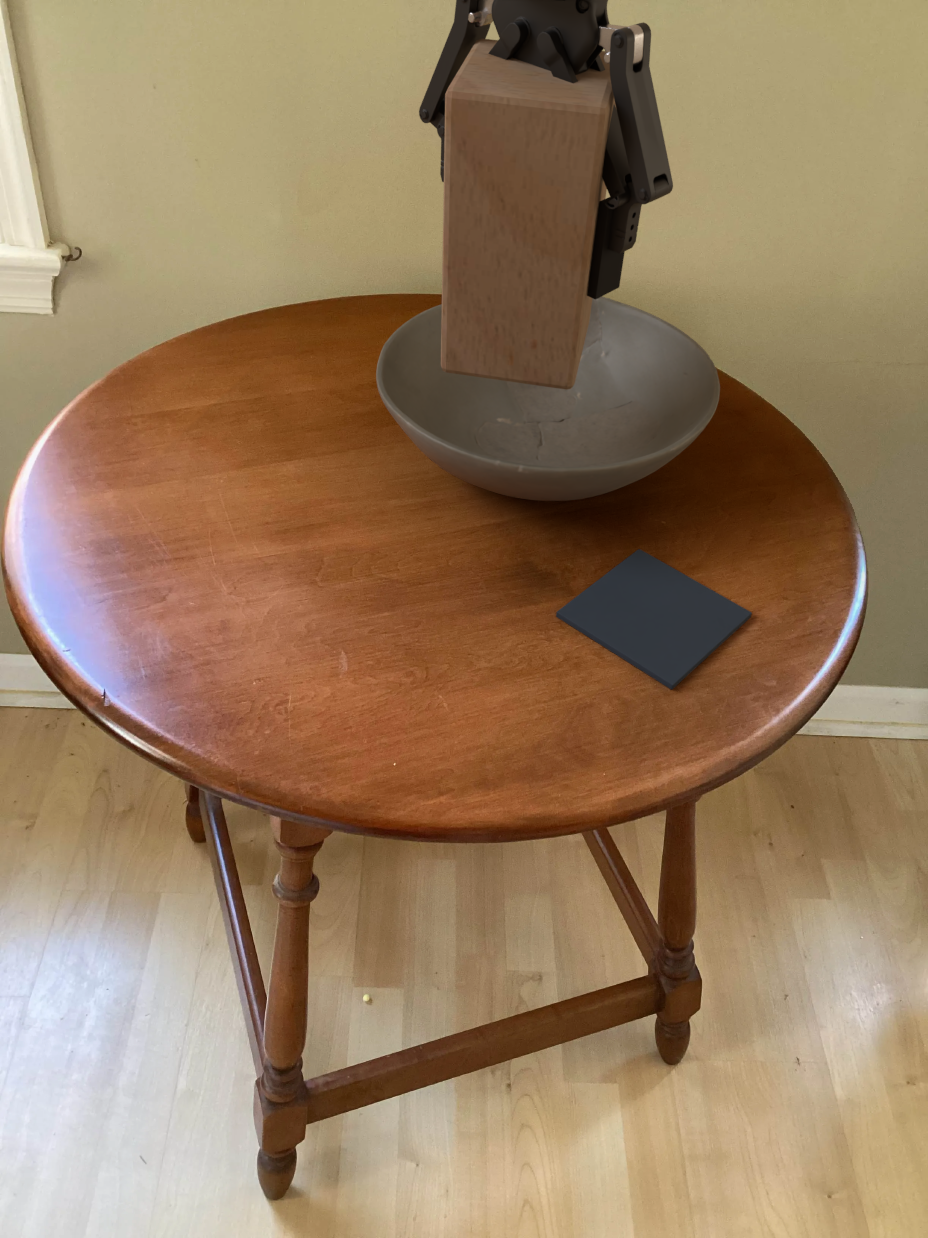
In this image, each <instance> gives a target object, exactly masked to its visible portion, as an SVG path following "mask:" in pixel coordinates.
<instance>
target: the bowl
mask: <svg viewBox="0 0 928 1238" xmlns="http://www.w3.org/2000/svg"><path fill="white" fill-rule="evenodd" d="M441 320H442V303H441V304H439V305H435V306H433V307H431V308H428V309H426V310H423V311H422V312H420V313H418V314H416V315H415V316H413V317H411V318H410V319H409V320H407V321H405V322H404V323H403V324H402V325H400V326H399V327H398V328H397V329H396V330H394V332H393V333H392V334H391V335H390V336H389V338H388V339H387V340H386V341H385V343H384V344H383V346H382V348H381V351H380V354H379V356H378V360H377V364H376V372H375V381H376V387H377V392H378V394H379V396H380V399H381V401H382V402H383V403H382V404H383V405H384V407H385V408H386V409H387V411H388V412H389V414H390V415H391V417H392V418H393V420H394V421H395V422H396V423H397V424H398V426H399V427H400V428H401V430H402V431H403V432H404V433H405V435H406V436H407V437H408V438H409V439H410V441H411V442H412V443H413V444H414V445H415V446H416V448H418V450H419V451H420V452H422V453H423V455H425V456H426V457H427V458H428V459H429V460H431V461H432V462H433V463H434V464H435V465H437V466H438V467H439V468H440V469H442V470H443V471H444V472H447V473H448V474H450V475H452V476H454V477H455V478H457V479H459V480H462V481H463V482H466V483H468V484H470V485H473V486H475V487H478V488H480V489H483V490H485V491H489V492H492V493H496V494H498V495H502V496H505V497H506V496H507V497H511V498H515V499H521V500H527V501H530V500H531V501H539V502H541V501H542V502H565V501H567V502H569V501H575V500H576V501H577V500H584V499H589V498H593V497H597V496H600V495H601V496H602V495H604V494H609V493H610V492H614V491H616V490H619V489H621V488H624V487H626V486H628V485H631V484H633V483H636V482H638V481H640V480H642V479H644V478H646V477H648V476H650V475H652V474H653V473H655V472H657V471H658V470H659V469H661V468H662V467H664V466H665V465H667V464H668V463H670V462H671V461H672V460H674V459H675V458H676V457H678V456H679V455H680V454H681V453H683V451H685V449H687V448H688V447H689V446H691V444H692V443H693V442H694V441H695V440H696V439H697V438H698V437H699V436H700V435H701V433H703V431H704V430H705V429H706V427H707V426H708V425H709V423H710V421H711V420H712V418H713V416H714V415H715V413H716V410H717V408H718V404H719V401H720V394H721V393H720V392H721V384H720V378H719V374H718V370H717V368H716V366H715V363H714V361H713V360H712V358H711V357H710V355H709V354H708V352H707V351H706V350H705V349H704V348H703V347H702V346H701V345H700V344H699V343H698V342H697V341H696V340H695V339H694V338H692V337H691V336H690V335H688V334H687V333H686V332H685V331H683V330H682V329H680V328H678V327H677V326H675V325H673V324H672V323H670V322H668V321H666V320H664V319H662V318H661V317H659V316H657V315H654V314H652V313H650V312H648V311H646V310H644V309H640V308H638V307H635V306H632V305H630V304H627V303H624V302H621V301H617V300H614V299H612V298H610V297H605V296H602V297H600V298H598V299H596V300H595V299H593V298H592V305H591V313H590V321H589V325H588V329H587V334H586V338H585V342H584V346H583V350H582V355H581V359H580V363H579V367H578V371H577V376H576V380H575V384H574V385H573V387H572V388H571V389H567V390H566V389H559V388H552V387H545V386H538V385H531V384H524V383H517V382H510V381H503V380H496V379H489V378H482V377H474V376H467V375H460V374H453V373H446V372H444V371H443V370H442V367H441Z"/></svg>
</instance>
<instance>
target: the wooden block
mask: <svg viewBox="0 0 928 1238" xmlns="http://www.w3.org/2000/svg"><path fill="white" fill-rule="evenodd" d="M498 40H499V39H490V38H486V39H479V40H477V41H476V42H475V44H474V46H473V47H472V49H471V51H470V52H469V54H468V56H467V57H466V59H465V61H464V62H463V64H462V66H461V67H460V69H459V71H458V72H457V74H456V76H455V77H454V79H453V81H452V82H451V84H450V86H449V87H448V89H447V91H446V94H445V141H444V182H443V200H442V201H443V208H442V211H443V212H442V216H443V217H442V219H443V220H442V270H441V304H442V320H441V367H442V370H443V371H444V372H446V373H453V374H460V375H467V376H474V377H482V378H489V379H496V380H503V381H510V382H517V383H524V384H531V385H538V386H545V387H552V388H559V389H566V390H567V389H571V388H572V387H573V385H574V384H575V380H576V376H577V371H578V367H579V363H580V359H581V355H582V350H583V346H584V342H585V338H586V334H587V329H588V325H589V321H590V313H591V305H592V298H591V297H589V296H587V292H588V284H589V277H590V269H591V261H592V254H593V246H594V238H595V231H596V223H597V215H598V208H599V201H602V200H604V199H606V198H607V191H608V190H607V188H606V186H605V183H604V181H603V179H602V172H603V164H604V156H605V148H606V143H607V137H608V132H609V127H610V121H611V116H612V111H613V106H614V104H615V100H614V95H613V90H612V85H611V80H610V64H607V63H605V61H604V55H605V53H606V51H605V50H602V52H601V53H600V54H599V56H600V58H601V60H602V63H603V65H604V68H605V70H604V71H601V72H600V71H597V70H594V69H591V68H589V69H588V70H587V71H586V72H583V73H580V74H578V75H575V76H576V78H577V80H578V82H576V83H570V82H567V81H565V80H562V79H559V78H556V77H553V75H552V73H551V71H549V70H546V69H543V68H540V67H537V66H534V65H532V64H529V63H526V62H523V61H520V60H517V59H514V58H510V59H507V60H505V59H502V58H499V57H496V56H493V55H491V54H488V53H489V52H490V50H491V49H492V48H493V47H494V45H495V44H496V43H497V41H498ZM615 107H616V104H615Z"/></svg>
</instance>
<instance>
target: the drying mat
mask: <svg viewBox="0 0 928 1238" xmlns="http://www.w3.org/2000/svg"><path fill="white" fill-rule="evenodd" d="M752 614H753V611H750V610H749V609H746V608H745V607H743V606H741V605H739V604H738V603H735V602H734V601H732V600H730V599H729V598H727V597H725V596H723V595H722V594H720V593H718V592H716V591H714V590H713V589H712V588H709V587H708V586H706V585H704V584H702V583H700V582H699V581H697V580H696V579H693V578H691V577H690V576H688V575H687V574H685V573H683V572H681V571H679V570H677V568H674V567H672V566H671V565H669V564H667V563H666V562H664V561H661V560H660V559H658V558H656V557H654V556H653V555H651V554H650V553H647V552H646V551H644V550H643V549H641V548H637V550H635V551H634V552H633V553H631V554H630V555H629V556H627V557H626V558H624V560H622V561H621V562H620V563H618V564H617V565H616V566H614V567H613V568H612V569H611V570H609V571H608V572H606V574H603V576H602V577H601V576H600V578H599V579H597V580H596V581H595V582H593V584H591V585H590V586H588V587H587V588H586V589H584V590H583V591H582V592H580V593H579V594H578V595H576V596H575V597H574V598H573V599H571V600H570V601H569V602H567V603H566V604H565V605H563V606H562V607H561V608H560V609H558V610H557V611H556V613H555V617H556V618H557V619H558V620H561V622H564V623H565V624H567V625H569V626H570V627H572V629H573V628H574V629H575V630H576V631H578V632H580V633H581V634H582V635H584V636H585V637H588V638H589V639H590V640H592V641H593V642H595V643H597V644H598V645H600V646H602V647H603V648H605V649H606V650H608V651H609V652H611V653H613V654H614V655H616V656H618V657H619V658H620V659H622V660H623V661H625V662H627V663H629V664H630V665H631V666H633V667H634V668H636V669H638V670H639V671H641V672H642V673H644V674H646V676H647V675H648V676H649V677H651V678H652V679H653V680H655V681H657V682H659V683H660V684H661V685H663V686H665V687H666V688H668V689H670V690H673V689H674V688H676V687H677V686H678V685H679V684H680V683H681V682H682V681H683V680H684V679H685V678H686V677H688V676H689V675H690V674H691V673H692V672H693V671H694V670H695V669H697V667H698V666H699V665H701V664H702V663H703V662H704V661H705V660H706V659H707V658H709V657H710V656H711V654H713V653H714V652H715V651H716V650H717V649H718V648H719V647H720V646H721V645H723V644H724V643H725V641H727V640H728V639H729V638H730V637H731V636H732V635H733V634H734V633H735V632H736V631H738V630H739V629H740V628H741V627H743V625H744V624H746V622H747V621H749V620H750V619H751V618H752Z"/></svg>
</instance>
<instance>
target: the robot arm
mask: <svg viewBox="0 0 928 1238" xmlns="http://www.w3.org/2000/svg"><path fill="white" fill-rule="evenodd" d="M608 2H609V0H455V9H454V17H453V23H452V25H451V28H450V31H449V33H448V36H447V38H446V41H445V43H444V45H443V48H442V51H441V54H440V55H439V59H438V61H437V62H436V66H435V68H434V71H433V74H432V76H431V79H430V81H429V84H428V86H427V88H426V91H425V93H424V96H423V99H422V102H421V104H420V106H419V110H418V117H419V119H420V120H421V122H422V123H424V124H429V123H430V124H431V125H432V126H433V127H434V128H435V129H436V132H437V135H438V137H439V138H440V141H441V142H440V172H439V174H440V178H441V182H442V183H444V141H445V94H446V91H447V89H448V87H449V86H450V84H451V82H452V81H453V79H454V77H455V76H456V74H457V72H458V71H459V69H460V67H461V66H462V64H463V62H464V61H465V59H466V57H467V56H468V54H469V52H470V51H471V49H472V47H473V46H474V44H475V42H476V41H477V40H479V39H487V36H488V33H489V31H490V28H491V24H494V27H495V30H496V33H497V35H498V39H497V40H498V41H497V43H496V44H495V45H494V47H493V48H492V49H491V50H490V52H489V53H488V54H491V55H493V56H496V57H499V58H502V59H505V60H507V59H510V58H514V59H517V60H520V61H523V62H526V63H529V64H532V65H534V66H537V67H540V68H543V69H546V70H549V71H551V73H552V75H553V77H556V78H559V79H562V80H565V81H567V82H570V83H576V82H578V80H577V78H576V76H575V75H578V74H580V73H583V72H586V71H587V70H588V69H589V68H591V69H594V70H597V71H600V72H601V71H604V70H605V68H604V65H603V63H602V60H601V58H600V56H599V54H600V53H601V52H602V51H606V53H605V55H604V61H605V63H607V64H610V80H611V85H612V90H613V95H614V100H615V104H616V107H615V104H614V106H613V111H612V116H611V121H610V127H609V132H608V137H607V143H606V148H605V156H604V164H603V172H602V179H603V181H604V183H605V186H606V188H607V190H606V191H607V193H608V195H609V196H608V197H606V198H605V199H604V200H602V201H599V208H598V215H597V223H596V231H595V238H594V246H593V254H592V261H591V269H590V277H589V284H588V292H587V296H589V297H591V298H593V299H595V300H596V299H598V298H600V297H605V296H606V295H607V294H610V293H611V292H613V291H616V290H617V289H619V288H620V286H621V285H620V284H621V280H622V279H621V278H622V271H623V266H624V258H625V252H626V251H628V250H630V249H632V248H633V247H634V246H635V244H636V242H637V235H638V231H639V224H640V218H641V217H640V216H641V212H642V207H643V206H642V205H647V204H649V203H652V202H654V201H656V200H659V199H661V198H662V197H665V196H667V195H669V194H671V192H672V191H673V189H674V182H673V181H674V180H673V176H672V171H671V168H670V167H671V166H670V161H669V158H668V153H667V152H668V150H667V146H666V141H665V137H664V131H663V127H662V122H661V117H660V113H659V107H658V101H657V97H656V93H655V92H656V91H655V88H654V87H655V86H654V83H653V78H652V73H651V72H652V71H651V68H650V67H651V66H650V61H651V60H650V59H651V45H652V44H651V43H652V30H651V27H650V25H649V24H648V23H646V22H644V21H643V22H639V23H635V24H631V25H628V26H626V25H619V24H610V20H609V15H608Z"/></svg>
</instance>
